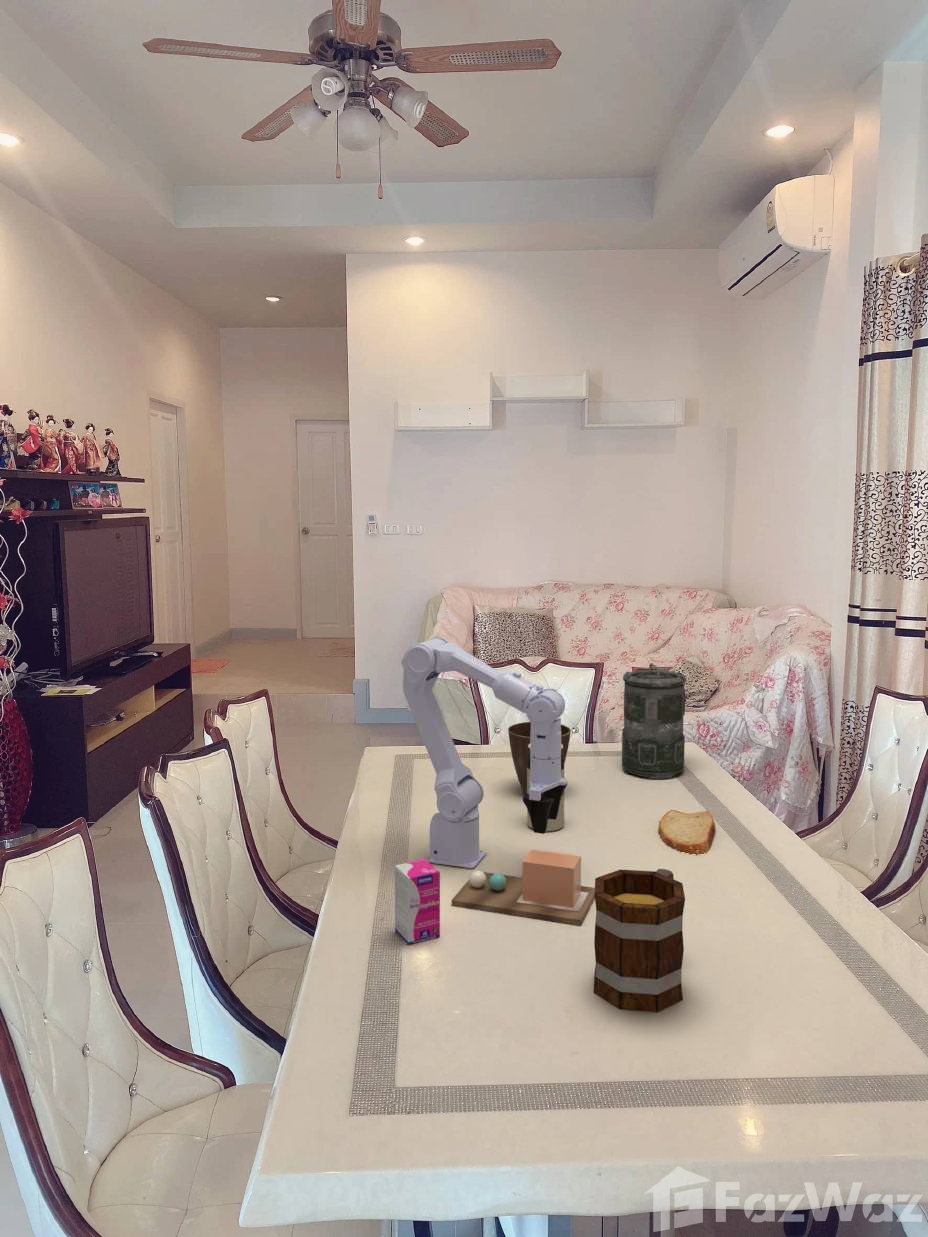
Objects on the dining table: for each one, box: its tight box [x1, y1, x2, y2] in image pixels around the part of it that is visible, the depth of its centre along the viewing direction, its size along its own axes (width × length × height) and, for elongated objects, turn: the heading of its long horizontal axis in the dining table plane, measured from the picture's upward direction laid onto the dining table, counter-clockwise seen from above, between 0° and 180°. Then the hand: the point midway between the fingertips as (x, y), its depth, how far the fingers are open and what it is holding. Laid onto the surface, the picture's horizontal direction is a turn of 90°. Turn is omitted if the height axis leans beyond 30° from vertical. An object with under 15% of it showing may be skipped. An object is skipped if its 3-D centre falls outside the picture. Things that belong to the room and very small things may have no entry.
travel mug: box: [526, 744, 565, 833], centre depth 192 cm, size 8×8×18 cm
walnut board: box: [451, 871, 595, 927], centre depth 157 cm, size 23×13×1 cm, turn 70°
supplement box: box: [394, 859, 441, 945], centre depth 144 cm, size 6×6×12 cm
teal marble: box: [490, 872, 506, 891], centre depth 159 cm, size 3×3×3 cm
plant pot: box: [507, 721, 572, 795], centre depth 213 cm, size 15×15×16 cm
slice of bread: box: [657, 809, 716, 855], centre depth 187 cm, size 18×18×4 cm
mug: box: [593, 868, 686, 1014], centre depth 130 cm, size 20×14×15 cm
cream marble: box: [469, 870, 486, 888], centre depth 160 cm, size 3×3×3 cm
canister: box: [621, 662, 687, 780], centre depth 229 cm, size 16×16×28 cm
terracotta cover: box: [522, 849, 582, 908], centre depth 155 cm, size 9×6×7 cm, turn 70°
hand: (545, 825), depth 167 cm, fingers open, 7 cm apart
